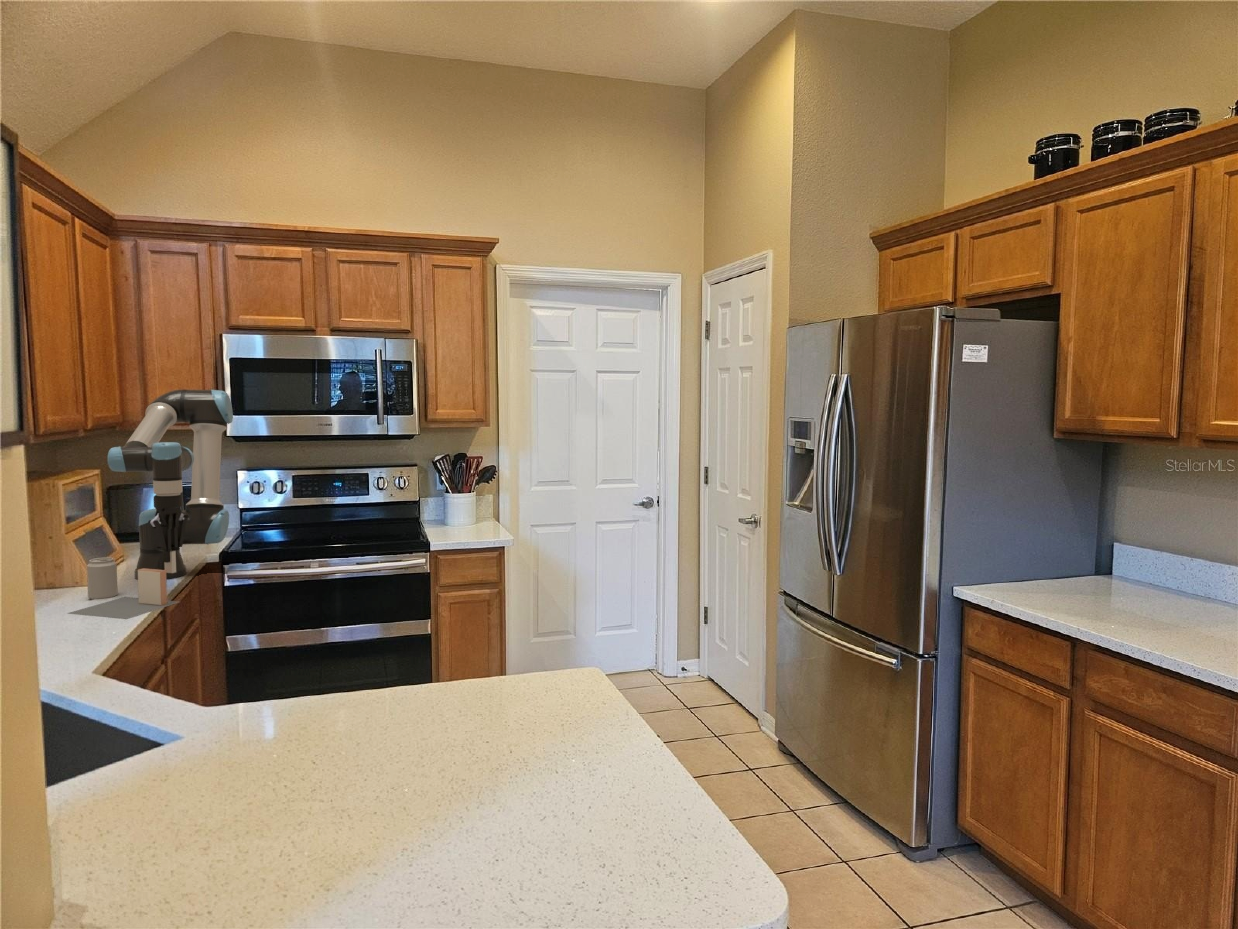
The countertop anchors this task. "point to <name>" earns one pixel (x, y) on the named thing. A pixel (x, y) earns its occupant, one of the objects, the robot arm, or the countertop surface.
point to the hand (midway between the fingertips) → (170, 572)
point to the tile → (152, 586)
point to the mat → (120, 608)
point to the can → (102, 578)
